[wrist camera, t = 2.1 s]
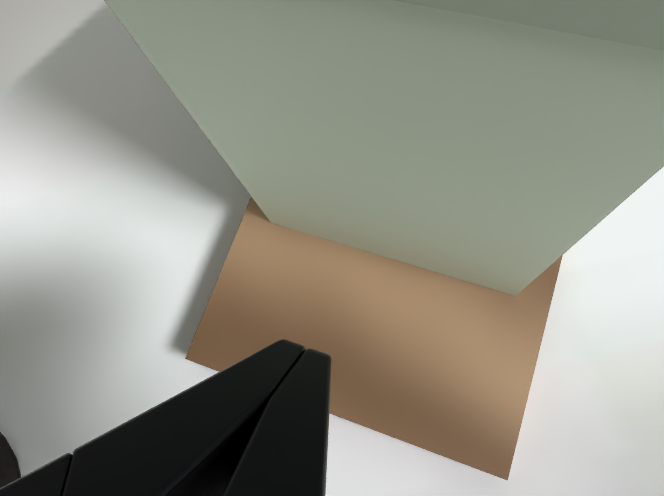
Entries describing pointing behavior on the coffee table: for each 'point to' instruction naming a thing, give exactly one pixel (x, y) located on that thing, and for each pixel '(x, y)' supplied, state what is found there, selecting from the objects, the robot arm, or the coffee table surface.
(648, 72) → the tea caddy
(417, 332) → the walnut board
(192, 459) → the robot arm
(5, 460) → the watch
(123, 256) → the coffee table surface
